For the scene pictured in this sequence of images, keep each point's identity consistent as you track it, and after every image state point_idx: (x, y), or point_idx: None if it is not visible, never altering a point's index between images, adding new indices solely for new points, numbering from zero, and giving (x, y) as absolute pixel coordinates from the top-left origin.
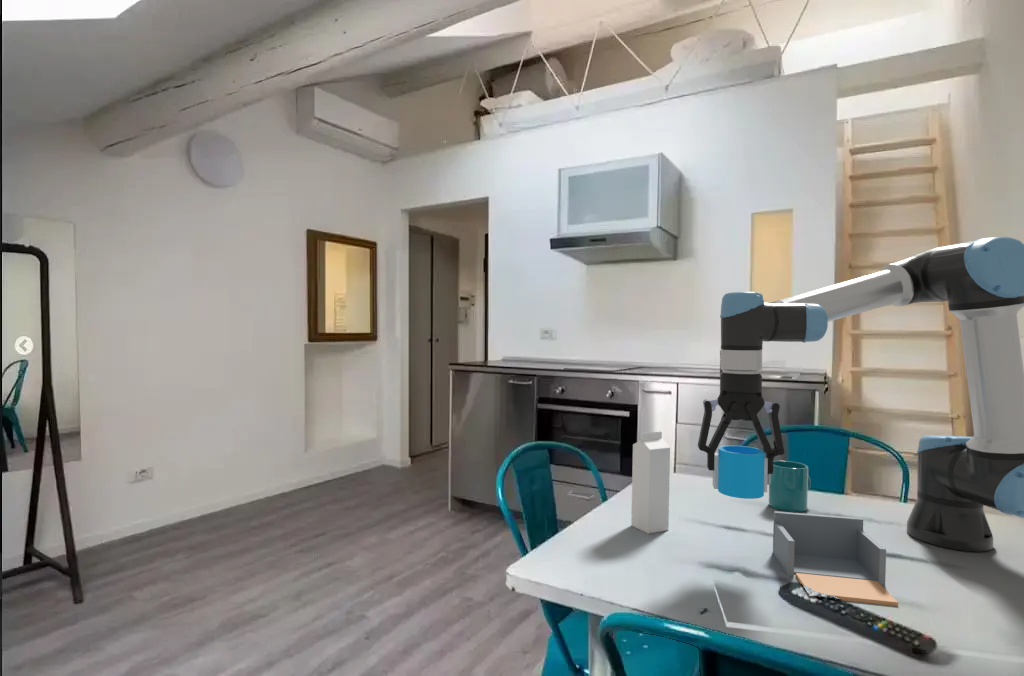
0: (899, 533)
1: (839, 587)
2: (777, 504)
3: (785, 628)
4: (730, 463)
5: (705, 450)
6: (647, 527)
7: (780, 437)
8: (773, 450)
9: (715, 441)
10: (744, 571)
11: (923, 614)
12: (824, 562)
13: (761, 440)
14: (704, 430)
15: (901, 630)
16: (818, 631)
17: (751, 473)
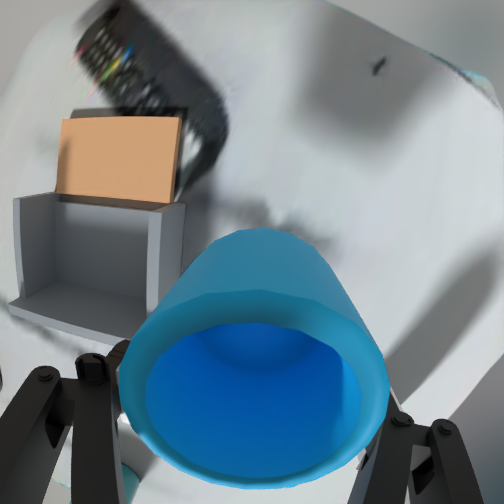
0: (8, 381)
1: (118, 152)
2: (128, 473)
3: (264, 23)
4: (347, 302)
5: (420, 429)
6: (390, 385)
7: (4, 421)
8: (72, 398)
9: (400, 462)
10: (260, 227)
11: (48, 116)
12: (103, 264)
13: (108, 447)
14: (471, 498)
15: (98, 57)
16: (216, 23)
17: (238, 253)
